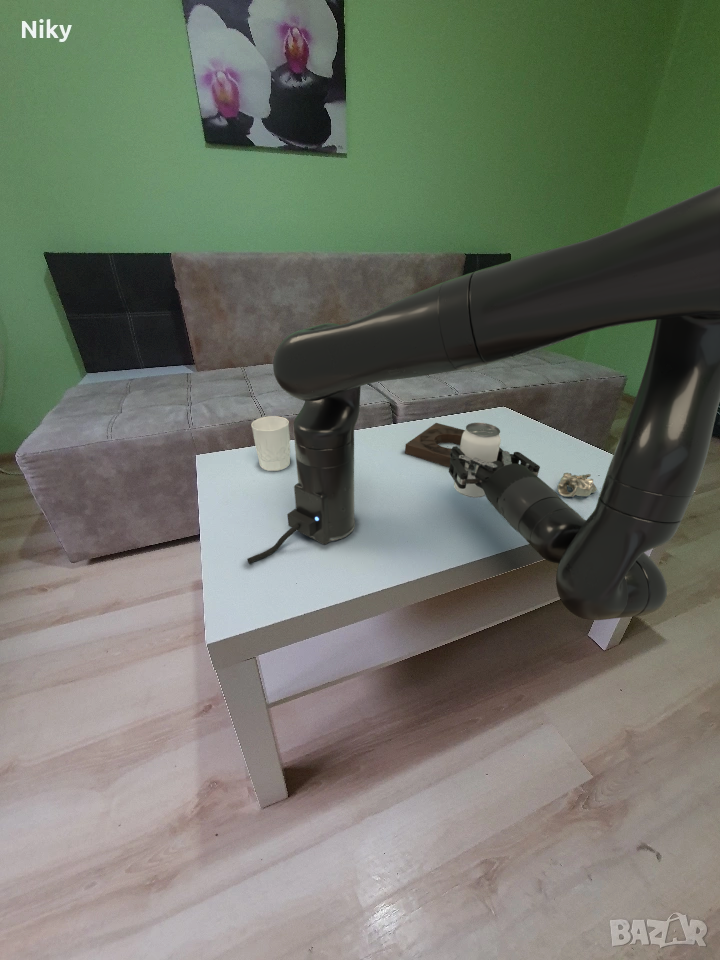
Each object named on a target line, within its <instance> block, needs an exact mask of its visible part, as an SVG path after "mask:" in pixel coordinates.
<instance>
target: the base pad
mask: <svg viewBox="0 0 720 960" xmlns="http://www.w3.org/2000/svg"><path fill="white" fill-rule="evenodd" d="M465 430H466V429H462V428H458V427H454V426H450V425H447V424H442V423H438V422H435V423H433V424H432V425H431V426H429V427H428V428H426V429H425V430H424V431H422V432H421V433H419V434H418V435H417V436H415V437H414V438H413V439H410V441H408V442H406V443H405V445H404V447H405V448H404V449H405V450H404V454H405V455H409V456H412V457H415V458H418V459H421V460H425V461H427V462H431V463H433V464H436V465H440V466H443V467H446V468H449V467H450V459H451V458H450V452H451V449H452V447H445V446H441V445H440V444H454V445H456V446H457V445H458V446H460V444H461V438H462V434H463V432H464V431H465ZM458 448H459V449H460V447H458Z"/></svg>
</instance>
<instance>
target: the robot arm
mask: <svg viewBox="0 0 720 960" xmlns="http://www.w3.org/2000/svg"><path fill="white" fill-rule="evenodd" d="M651 321H655V326H654V331H653V337H652V342H651V346H650V350H649V354H648V357H647V361H646V365H645V368H644V372H643V375H642V378H641V382H640V385H639V387H638V390H637V393H636V396H635V398H634V401H633V404H632V407H631V409H630V411H629V414H628V417H627V419H626V422H625V424H624V427H623V430H622V432H621V435H620V437H619V440H618V442H617V445H616V447H615V450H614V453H613V456H612V458H611V461H610V463H609V466H608V469H607V472H606V476H605V478H604V481H603V482H602V483H603V484H602V487H601V490H600V493H599V495H598V499H597V501H596V505H595V508H594V510H593V511H592V512H591V513H590V515H589V517H588V518H587V519H584V517H582V516H581V515H580V514H579V513H578V512H577V511H576V510H574V508H573V507H571V506H570V505H569V504H567V503H566V501H564V500H563V499H562V498H561V497H560V496H559V495H558V492H556V491H555V490H554V489H553V488H552V487H550V485H548V483H546V482H545V481H544V480H542V478H540V477H539V472H540V469H541V466H540V465H539V464H538V463H536V462H535V461H533V460H531V459H530V458H529V457H527V456H526V455H524V454H523V453H522V452H519V451H514V452H513V453H510V451H507V450H504V449H502V448H501V446H500V447H499V452H498V456H497V461H494V462H485V461H483V460H481V459H478V458H476V457H475V458H473V459H472V458H469V457H467V456H465V454H464V453H463V452H462V451H461V450H460V449H459V448H460V447H459V446H457V445H455V446H452V447H451V452H450V458H451V459H450V467H448V473H449V475H450V476H451V478H452V479H453V482H454V481H455V483H456V484H457V486H458V487H459V488H461V489H465V488H466V484H475V485H476V486H478V487H480V488H482V489H483V490H484V492H485V497H486V499H487V501H488V502H489V503H490V505H492V506H493V507H494V509H495V510H496V511H497V512H498V514H500V515H501V517H502V518H503V519H504V520H505V521H506V523H508V525H509V526H510V527H512V529H514V530H515V531H516V532H517V533H519V534H520V535H521V536H522V537H523V539H524V540H525V541H526V542H527V543H528V544H529V546H530V547H531V548H532V549H533V550H534V551H535V552H536V553H537V554H538V555H539V556H540V557H541V558H543V560H546V561H547V562H550V563H553V564H558V566H557V569H556V577H555V579H556V580H555V582H556V583H555V585H556V590H557V594H558V597H559V599H560V601H561V603H562V605H563V606H564V607H565V609H567V610H568V611H569V612H570V613H571V614H573V615H574V616H576V617H578V618H580V619H583V620H587V621H604V620H613V619H623V618H630V617H632V618H633V617H642V616H646V615H650V614H653V613H656V611H658V610H660V609H661V607H663V605H664V604H665V602H666V601H667V600H666V599H667V597H668V586H667V585H668V584H667V582H666V581H667V580H666V579H665V576H664V574H663V572H662V571H661V569H660V568H659V566H658V565H657V564H656V563H655V561H654V560H653V559H652V558H651V557H649V555H648V554H646V552H648V551H650V550H653V549H656V548H659V547H660V546H663V545H665V544H667V543H669V542H670V541H671V540H672V539H673V537H674V536H675V534H676V533H677V531H678V529H679V527H680V526H681V523H682V521H683V518H684V516H685V514H686V511H687V509H688V507H689V504H690V502H691V499H692V498H693V496H694V493H695V491H696V489H697V486H698V483H699V481H700V479H701V475H702V473H703V470H704V467H705V464H706V461H707V457H708V453H709V449H710V445H711V440H712V436H713V430H714V427H715V426H714V425H715V422H716V417H717V412H718V408H719V405H720V184H718V185H715V186H714V187H710V188H709V189H706V190H705V191H702V192H699V193H698V194H696V195H693V196H691V197H688V198H686V199H684V200H682V201H679V202H677V203H675V204H672V205H670V206H667V207H666V208H663V209H660V210H659V211H656V212H653V213H651V214H649V215H647V216H644V217H641V218H639V219H637V220H635V221H633V222H632V221H631V222H629V223H627V224H625V225H623V226H621V227H618V228H615V229H613V230H611V231H607V232H605V233H602V234H600V235H597V236H594V237H591V238H588V239H584V240H581V241H578V242H575V243H574V242H573V243H570V244H567V245H562V246H559V247H555V248H551V249H547V250H543V251H540V252H535V253H532V254H529V255H526V256H523V257H519V258H515V259H512V260H509V261H505V262H503V263H499V264H495V265H492V266H489V267H484V268H481V269H479V270H476V271H473V272H469V273H466V274H463V275H461V276H458V277H455V278H452V279H448V280H446V281H443V282H440V283H438V284H435V285H433V286H430V287H428V288H425V289H423V290H420V291H418V292H415V293H413V294H410V295H408V296H406V297H404V298H402V299H400V300H397V301H395V302H393V303H390V304H389V305H387V306H385V307H383V308H380V309H378V310H376V311H374V312H372V313H370V314H368V315H365V316H363V317H361V318H359V319H355V320H353V321H349V322H346V323H343V324H338V323H332V322H325V323H321V324H317V325H314V326H309V327H307V328H303V329H299V330H297V331H294V332H292V333H290V334H289V335H288V336H286V337H284V339H283V340H282V341H281V343H279V344H278V347H277V348H276V351H275V354H274V356H273V362H272V363H273V364H272V370H273V375H274V378H275V380H276V383H278V385H279V386H280V388H281V389H282V390H283V391H284V392H285V393H286V394H288V395H289V396H291V397H293V398H294V399H297V400H300V401H304V404H303V406H302V408H301V409H300V410H299V412H298V414H297V415H296V417H295V418H294V420H293V427H292V428H293V430H292V431H293V439H294V440H293V441H294V451H295V463H296V472H297V473H296V474H297V483H296V484H294V486H293V491H294V500H295V501H294V502H295V508H294V509H292V510H291V511H289V512H288V513H287V514H286V515H287V524H288V527H290V528H289V529H288V530H287V531H286V532H285V533H283V534H282V536H280V537H279V539H278V540H277V542H276V543H275V544H274V545H273V546H271V547H270V548H268V549H267V550H265V551H262V552H260V553H257V554H255V555H252V556H250V557H248V558H247V562H248V564H249V565H250V564H252V563H254V562H257V561H259V560H262V559H265V558H267V557H269V556H270V555H272V554H274V553H276V552H277V551H278V550H279V549H280V548H281V547H282V545H283V544H284V542H285V541H286V540H288V539H289V537H291V536H292V535H293V534H294V533H296V532H299V533H300V534H302V535H304V536H306V537H308V538H309V539H312V540H314V541H316V542H318V543H319V544H322V545H327V544H328V543H330V542H335V541H339V540H342V539H344V538H346V537H348V536H349V535H351V533H353V531H354V529H355V526H356V518H355V427H356V424H357V421H358V419H359V416H360V408H361V390H362V389H361V387H362V386H365V385H368V384H374V383H379V382H385V381H395V380H401V379H402V380H403V379H411V378H418V377H424V376H431V375H436V374H437V375H438V374H443V373H449V372H456V371H463V370H467V369H471V368H476V367H482V366H487V365H492V364H496V363H500V362H504V361H507V360H511V359H514V358H517V357H521V356H524V355H527V354H531V353H534V352H537V351H540V350H543V349H545V348H548V347H551V346H554V345H556V344H559V343H561V342H565V341H567V340H570V339H573V338H576V337H578V336H581V335H584V334H588V333H591V332H594V331H600V330H603V329H607V328H612V327H618V326H623V325H629V324H630V325H631V324H636V323H643V322H651ZM465 462H466V463H468V465H469V467H468V468H467V467H465ZM477 465H478V469H477V472H475V471H476V466H477Z"/></svg>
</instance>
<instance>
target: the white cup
mask: <svg viewBox="0 0 720 960" xmlns="http://www.w3.org/2000/svg"><path fill="white" fill-rule="evenodd" d="M250 426H251V432H252V436H253V439H254V440H253V442H254V446H255V449H256V455H257V457H258V463H259V466H260V468H261V469H262V470H265V471H268V472H279V471H282V470H284V469H287V468H288V467H289V466H290V465H291V436H290V435H291V433H290V421H289V419H287V418H286V417H283V416H278V415H270V416H262V417H259V418H256V419H254V420H253V421H252V422H251V424H250Z"/></svg>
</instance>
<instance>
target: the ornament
mask: <svg viewBox="0 0 720 960" xmlns="http://www.w3.org/2000/svg"><path fill="white" fill-rule="evenodd" d="M591 476H592V474H590V473H587V474H580V475H577V474H573V475H572V473H571V472H564V473H563V475H562V477H561V478H560V481H559V482H558V485H557V493H558V494H559V495H560V496H561V497H564V498H568V497H569V498H570V497H571V498H574V497H575V496H578V497H589V496H591V494H594V493H596V492H597V491H598V488H597V486H596V485H595V483H594V479H593V478H590V477H591ZM568 487H569V488H570V489H572V491H571V492H569V491H568Z"/></svg>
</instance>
